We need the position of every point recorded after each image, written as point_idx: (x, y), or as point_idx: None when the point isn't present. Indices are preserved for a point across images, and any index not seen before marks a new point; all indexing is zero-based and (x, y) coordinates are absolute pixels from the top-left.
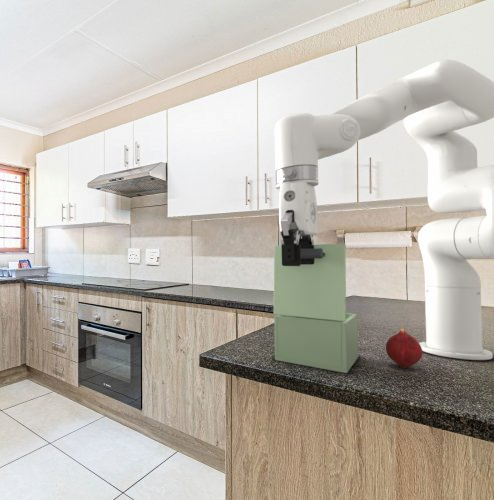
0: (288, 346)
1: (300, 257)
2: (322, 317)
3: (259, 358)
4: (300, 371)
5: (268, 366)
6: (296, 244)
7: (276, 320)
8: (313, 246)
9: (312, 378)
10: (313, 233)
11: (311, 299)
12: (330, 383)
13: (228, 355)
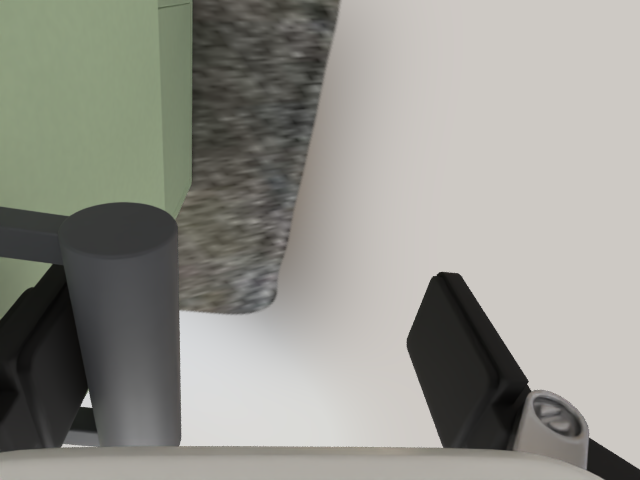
0: (182, 166)
1: (470, 303)
2: (158, 89)
3: (201, 217)
4: (253, 113)
5: (258, 186)
6: (538, 395)
7: None
8: (9, 348)
9: (296, 79)
10: (283, 453)
11: (133, 157)
12: (314, 34)
13: (224, 278)
